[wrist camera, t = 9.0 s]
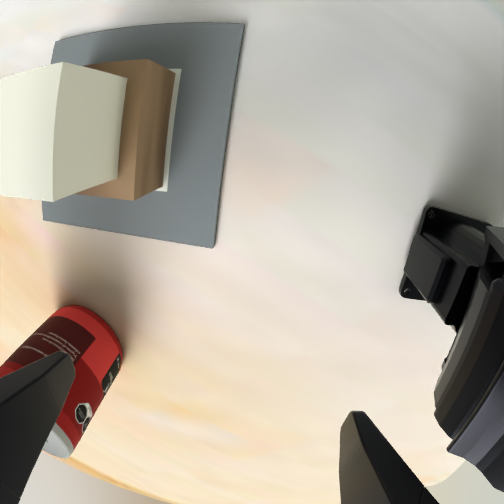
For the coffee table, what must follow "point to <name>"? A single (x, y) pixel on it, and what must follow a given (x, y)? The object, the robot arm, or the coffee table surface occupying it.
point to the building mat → (179, 129)
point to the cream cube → (59, 130)
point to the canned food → (85, 363)
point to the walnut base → (139, 129)
